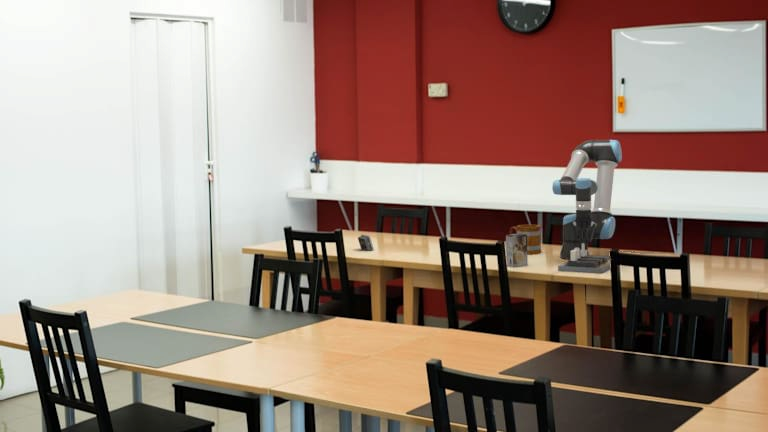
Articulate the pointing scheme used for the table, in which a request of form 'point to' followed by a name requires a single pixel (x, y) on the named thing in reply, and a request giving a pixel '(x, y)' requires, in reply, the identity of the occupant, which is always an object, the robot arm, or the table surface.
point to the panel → (584, 269)
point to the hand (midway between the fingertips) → (583, 256)
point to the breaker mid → (578, 252)
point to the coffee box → (516, 250)
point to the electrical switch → (365, 242)
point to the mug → (530, 237)
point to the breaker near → (573, 255)
